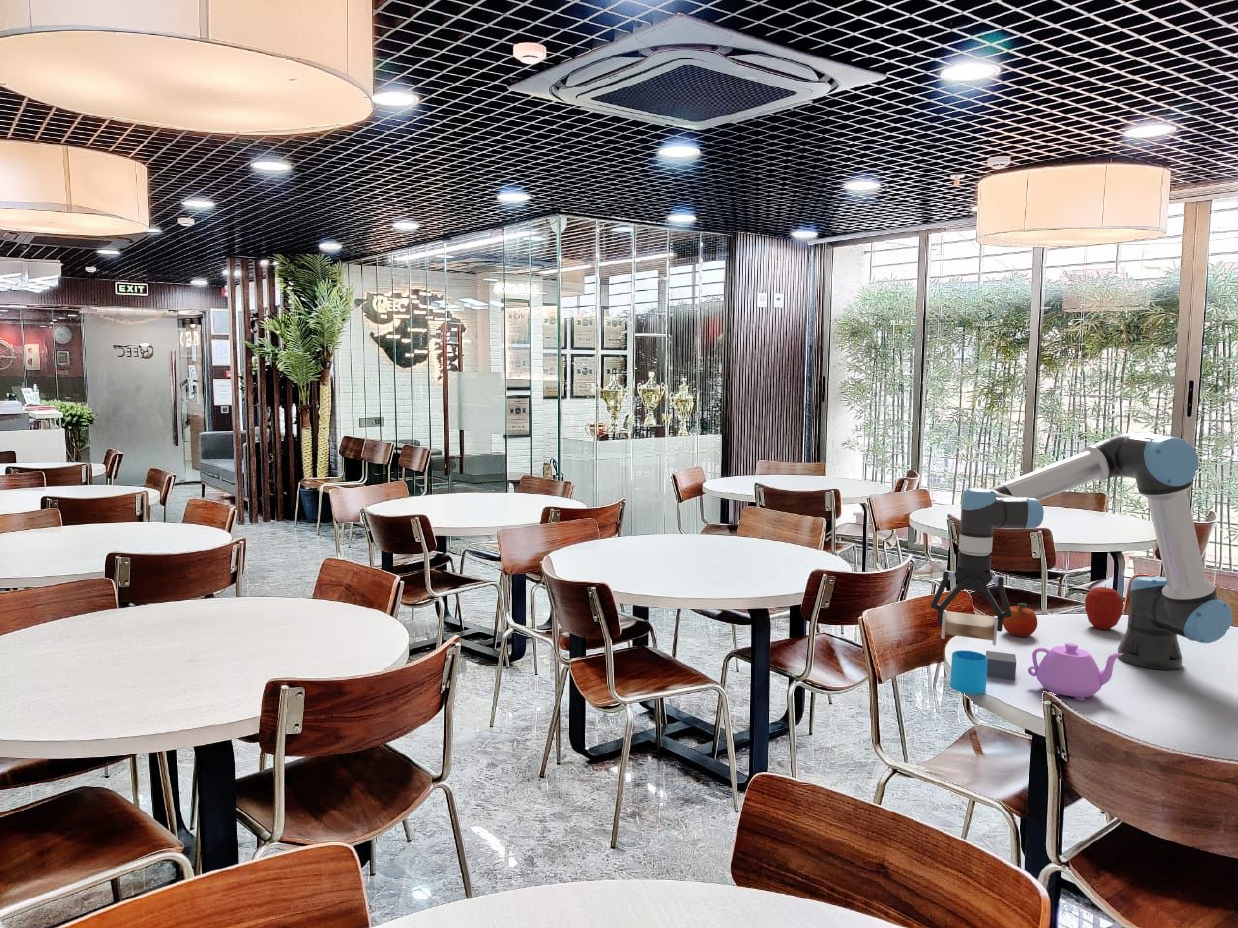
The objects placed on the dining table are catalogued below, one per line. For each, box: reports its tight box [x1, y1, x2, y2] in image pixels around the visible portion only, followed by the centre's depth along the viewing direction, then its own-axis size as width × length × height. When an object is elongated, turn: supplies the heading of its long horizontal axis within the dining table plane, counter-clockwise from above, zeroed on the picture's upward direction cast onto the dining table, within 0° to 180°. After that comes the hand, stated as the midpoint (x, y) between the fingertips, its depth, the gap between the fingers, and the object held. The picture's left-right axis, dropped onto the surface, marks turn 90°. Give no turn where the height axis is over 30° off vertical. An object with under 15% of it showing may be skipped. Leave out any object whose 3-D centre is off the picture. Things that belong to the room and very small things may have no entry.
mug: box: [949, 649, 988, 695], centre depth 222 cm, size 12×8×8 cm
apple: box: [1084, 583, 1124, 631], centre depth 274 cm, size 10×10×14 cm
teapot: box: [1027, 642, 1123, 702], centre depth 217 cm, size 20×14×12 cm
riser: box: [985, 650, 1017, 681], centre depth 231 cm, size 7×7×4 cm
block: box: [945, 610, 995, 642], centre depth 220 cm, size 11×11×3 cm
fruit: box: [1003, 602, 1038, 638], centre depth 266 cm, size 10×10×10 cm
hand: (968, 640), depth 221 cm, fingers closed on block, 11 cm apart
